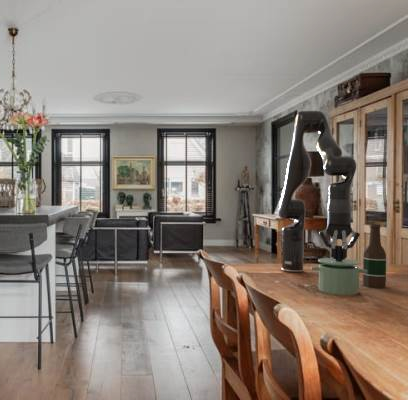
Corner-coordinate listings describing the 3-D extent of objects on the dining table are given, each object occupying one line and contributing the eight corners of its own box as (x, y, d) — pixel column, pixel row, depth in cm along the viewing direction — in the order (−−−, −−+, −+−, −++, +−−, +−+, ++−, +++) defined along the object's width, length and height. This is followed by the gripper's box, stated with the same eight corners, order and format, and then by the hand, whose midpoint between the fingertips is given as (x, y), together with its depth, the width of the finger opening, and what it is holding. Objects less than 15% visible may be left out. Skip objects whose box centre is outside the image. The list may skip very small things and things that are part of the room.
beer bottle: (378, 289, 164) (379, 225, 164) (358, 285, 171) (359, 224, 171) (390, 287, 168) (391, 224, 168) (370, 283, 175) (371, 223, 175)
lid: (315, 260, 167) (316, 243, 167) (356, 262, 163) (356, 244, 163) (320, 265, 155) (320, 247, 154) (363, 268, 150) (364, 248, 150)
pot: (309, 287, 168) (309, 262, 168) (362, 290, 162) (363, 265, 162) (312, 294, 156) (313, 267, 156) (370, 298, 150) (370, 270, 150)
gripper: (358, 211, 160) (358, 258, 160) (316, 210, 164) (316, 256, 165) (363, 212, 153) (362, 261, 153) (319, 211, 157) (318, 259, 157)
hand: (338, 258), depth 159 cm, fingers closed on lid, 2 cm apart
